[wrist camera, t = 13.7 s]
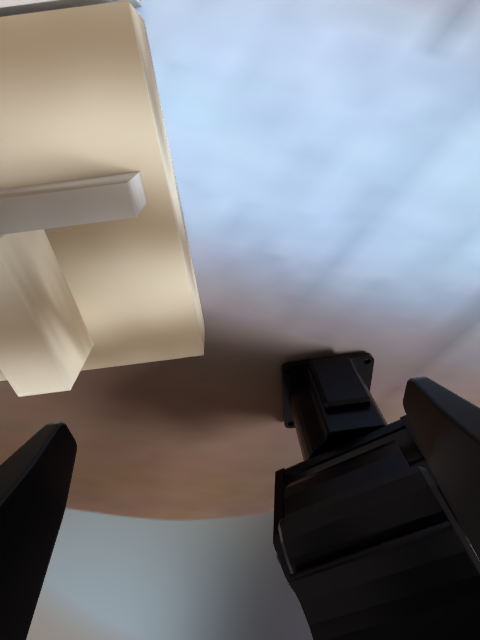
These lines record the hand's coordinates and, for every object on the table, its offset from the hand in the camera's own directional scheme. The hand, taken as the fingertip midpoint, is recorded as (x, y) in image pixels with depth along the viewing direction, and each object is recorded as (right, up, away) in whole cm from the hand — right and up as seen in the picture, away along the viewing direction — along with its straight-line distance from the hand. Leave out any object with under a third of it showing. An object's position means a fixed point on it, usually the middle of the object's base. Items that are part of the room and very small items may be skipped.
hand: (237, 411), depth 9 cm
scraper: (-9, +4, +8) cm, 13 cm away
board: (-10, +7, +9) cm, 15 cm away
